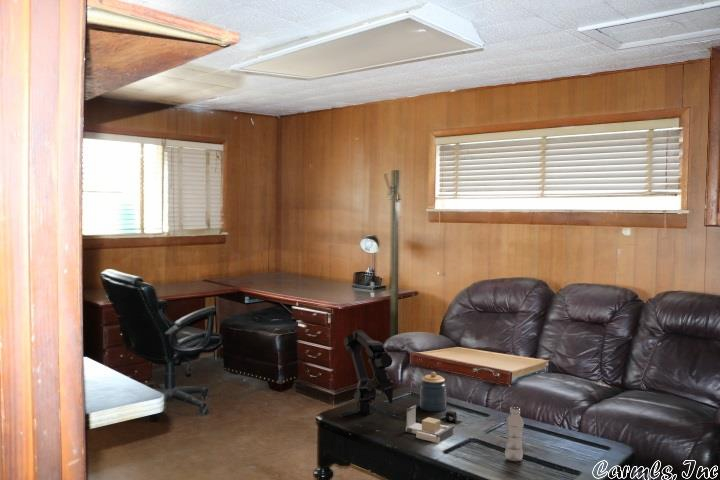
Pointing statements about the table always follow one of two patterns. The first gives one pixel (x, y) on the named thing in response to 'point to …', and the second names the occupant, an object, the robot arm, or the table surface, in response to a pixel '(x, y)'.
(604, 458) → the table surface
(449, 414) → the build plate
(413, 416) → the trolley
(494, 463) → the table surface
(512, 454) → the plastic bottle
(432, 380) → the canister
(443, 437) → the bay
